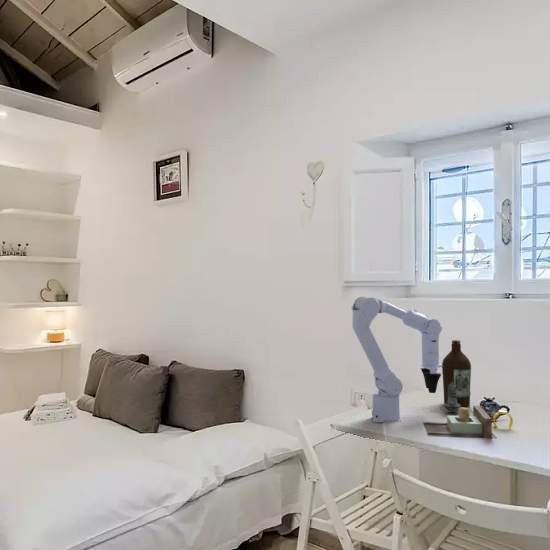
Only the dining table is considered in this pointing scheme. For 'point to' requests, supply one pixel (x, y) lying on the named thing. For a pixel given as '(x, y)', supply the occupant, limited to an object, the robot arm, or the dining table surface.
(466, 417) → the oak dowel
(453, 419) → the sage socket block
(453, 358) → the olive oil
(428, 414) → the dining table surface
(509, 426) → the watch
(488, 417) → the walnut board
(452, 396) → the salt shaker
